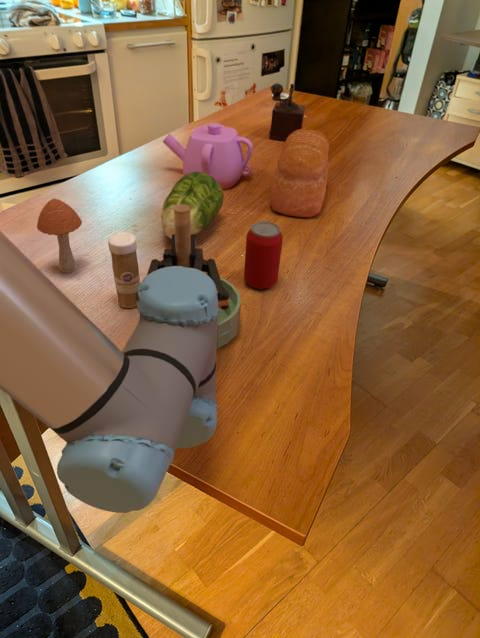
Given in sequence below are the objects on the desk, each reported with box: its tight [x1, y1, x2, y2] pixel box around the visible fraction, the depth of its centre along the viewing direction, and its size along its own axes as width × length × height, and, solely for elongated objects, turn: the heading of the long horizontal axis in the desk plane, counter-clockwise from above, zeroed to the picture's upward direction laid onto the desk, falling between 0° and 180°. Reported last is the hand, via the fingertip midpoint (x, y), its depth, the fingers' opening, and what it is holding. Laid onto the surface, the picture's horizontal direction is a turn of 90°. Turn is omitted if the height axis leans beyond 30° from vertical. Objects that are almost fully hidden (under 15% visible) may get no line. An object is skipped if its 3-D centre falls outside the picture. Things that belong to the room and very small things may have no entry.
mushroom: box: [36, 198, 83, 274], centre depth 87 cm, size 8×8×15 cm
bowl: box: [204, 272, 242, 350], centre depth 79 cm, size 15×15×6 cm
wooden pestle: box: [174, 204, 191, 268], centre depth 74 cm, size 4×4×20 cm
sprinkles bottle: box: [107, 231, 141, 309], centre depth 81 cm, size 5×5×13 cm
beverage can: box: [243, 220, 284, 290], centre depth 88 cm, size 7×7×12 cm
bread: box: [269, 128, 330, 218], centre depth 118 cm, size 14×26×15 cm, turn 168°
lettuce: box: [160, 172, 225, 240], centre depth 102 cm, size 12×21×11 cm, turn 166°
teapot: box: [162, 122, 254, 190], centre depth 125 cm, size 19×21×14 cm
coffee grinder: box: [268, 82, 306, 142], centre depth 151 cm, size 16×11×18 cm
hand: (183, 241), depth 78 cm, fingers closed on wooden pestle, 2 cm apart
